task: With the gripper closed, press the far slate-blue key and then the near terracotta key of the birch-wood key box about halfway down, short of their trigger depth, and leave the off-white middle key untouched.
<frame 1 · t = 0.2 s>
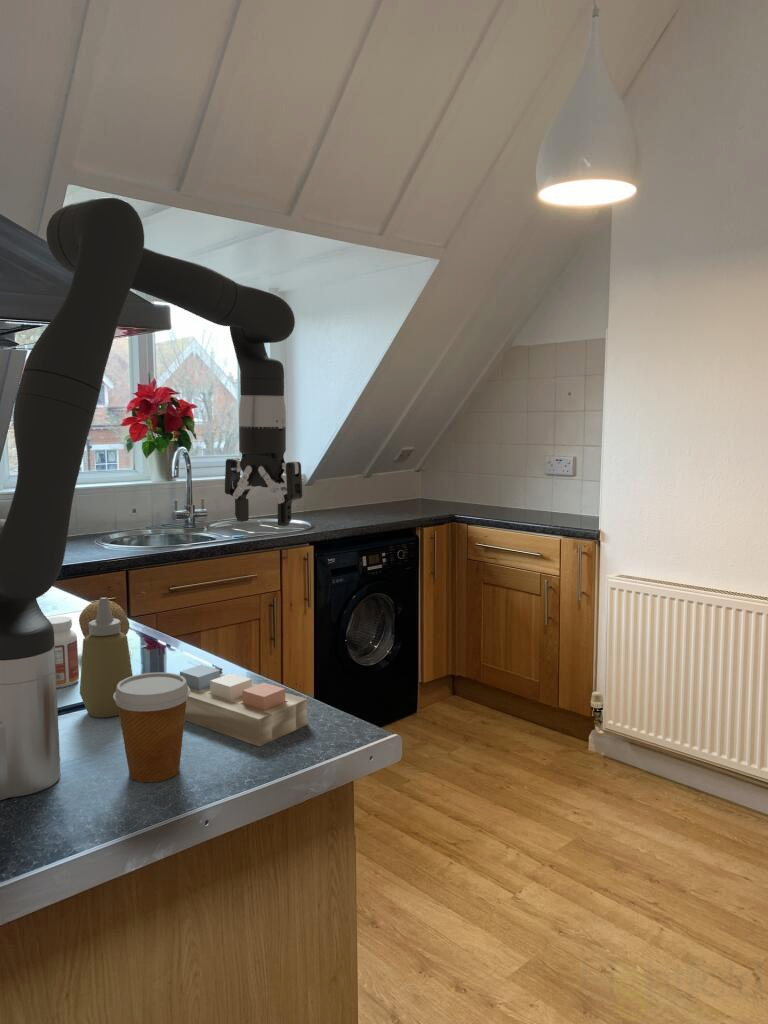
hand: (262, 523, 136), 28 cm above the countertop, fingers open, 8 cm apart
terracotta key: (264, 700, 122), point 4 cm above the countertop, slide at 0.0 cm
key box: (231, 717, 126), on the countertop
white key: (231, 690, 126), point 4 cm above the countertop, slide at 0.0 cm
pill bottle: (59, 684, 142), on the countertop
disposable coffee cup: (154, 773, 108), on the countertop
slate key: (200, 681, 130), point 4 cm above the countertop, slide at 0.0 cm
squeeze bottle: (108, 713, 128), on the countertop
natural sponge: (105, 651, 160), on the countertop
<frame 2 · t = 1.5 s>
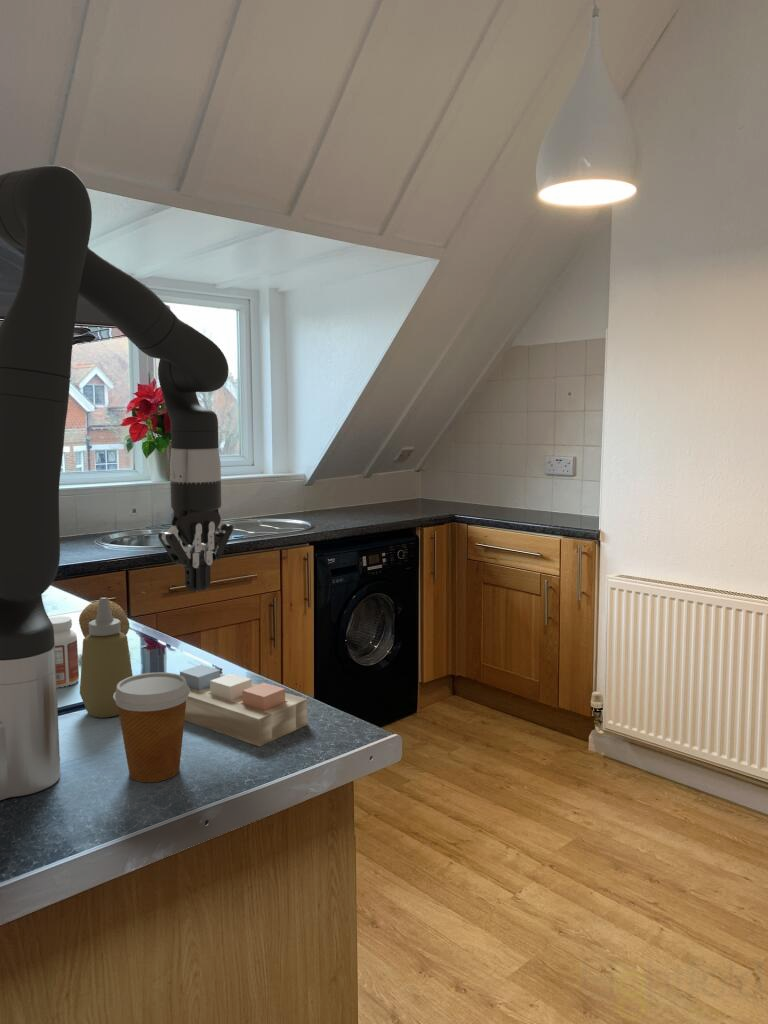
hand: (198, 589, 128), 19 cm above the countertop, fingers closed
nothing on the countertop moved.
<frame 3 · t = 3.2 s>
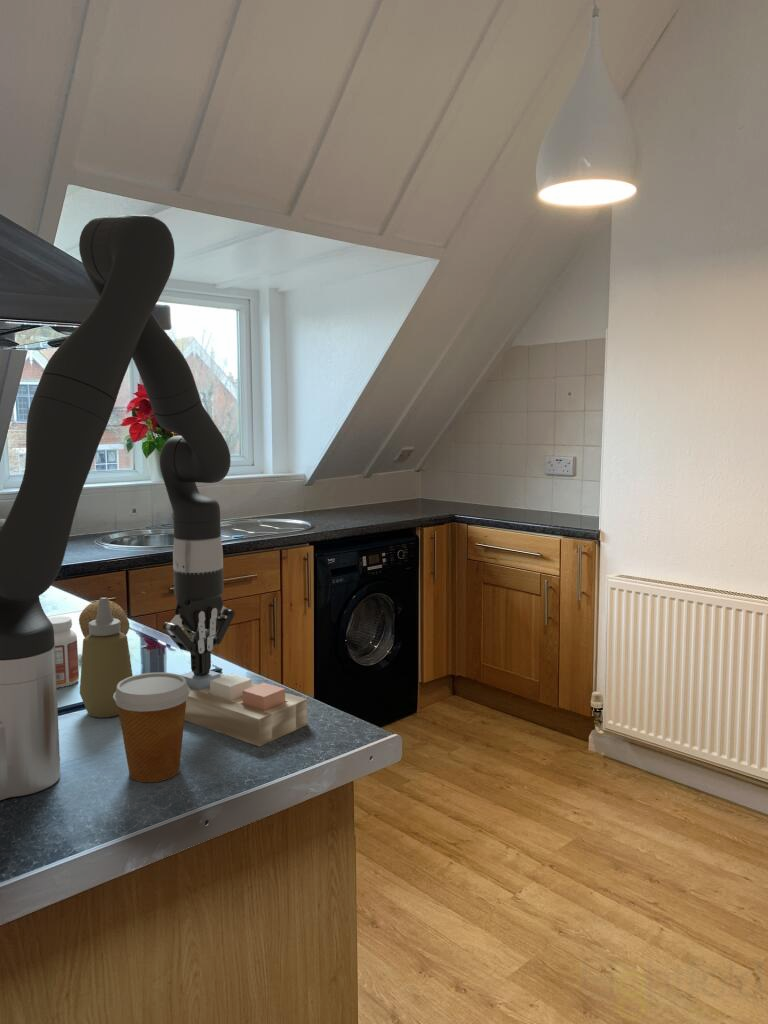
hand: (201, 674, 130), 5 cm above the countertop, fingers closed
slate key: (200, 684, 130), point 4 cm above the countertop, slide at 0.6 cm, touching gripper
everything else where it was.
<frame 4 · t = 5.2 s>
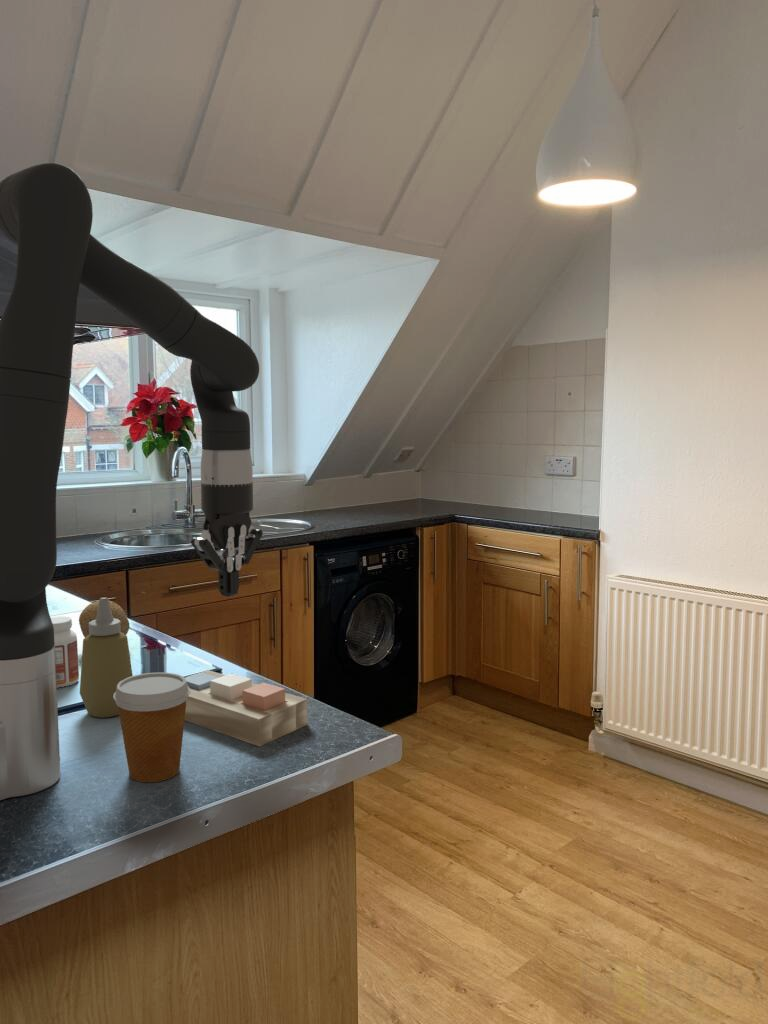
hand: (229, 594, 124), 19 cm above the countertop, fingers closed
slate key: (200, 688, 130), point 3 cm above the countertop, slide at 1.3 cm
everything else where it was.
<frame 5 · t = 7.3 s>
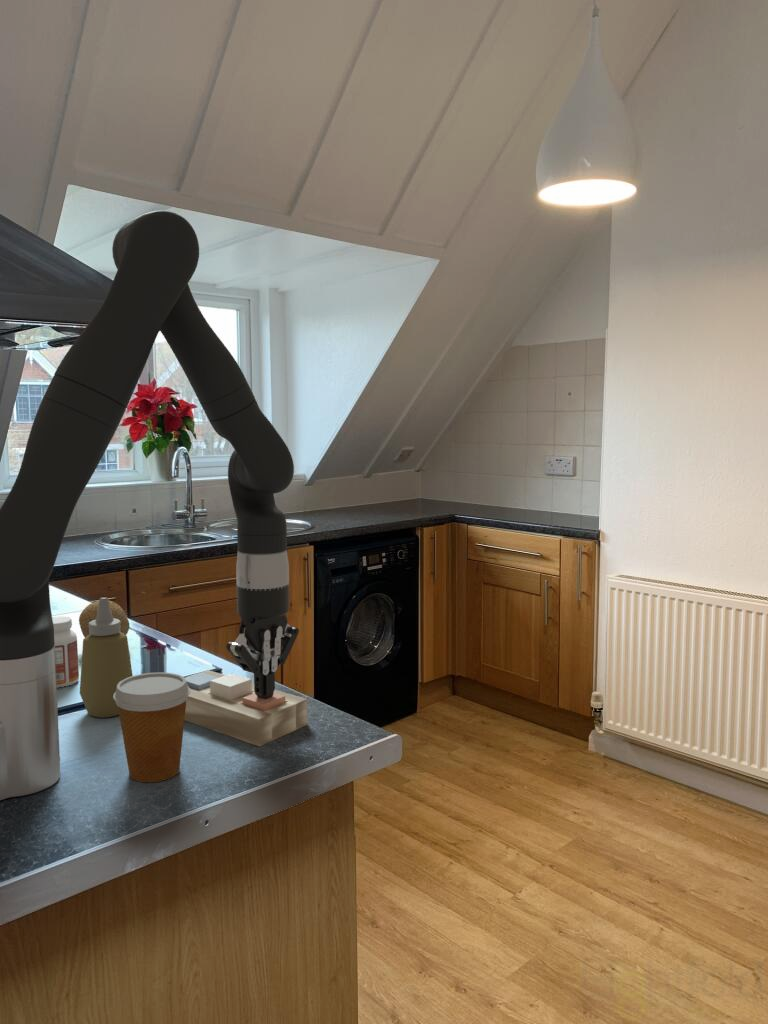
hand: (264, 696, 121), 5 cm above the countertop, fingers closed
terracotta key: (264, 707, 122), point 3 cm above the countertop, slide at 1.1 cm, touching gripper
everything else where it was.
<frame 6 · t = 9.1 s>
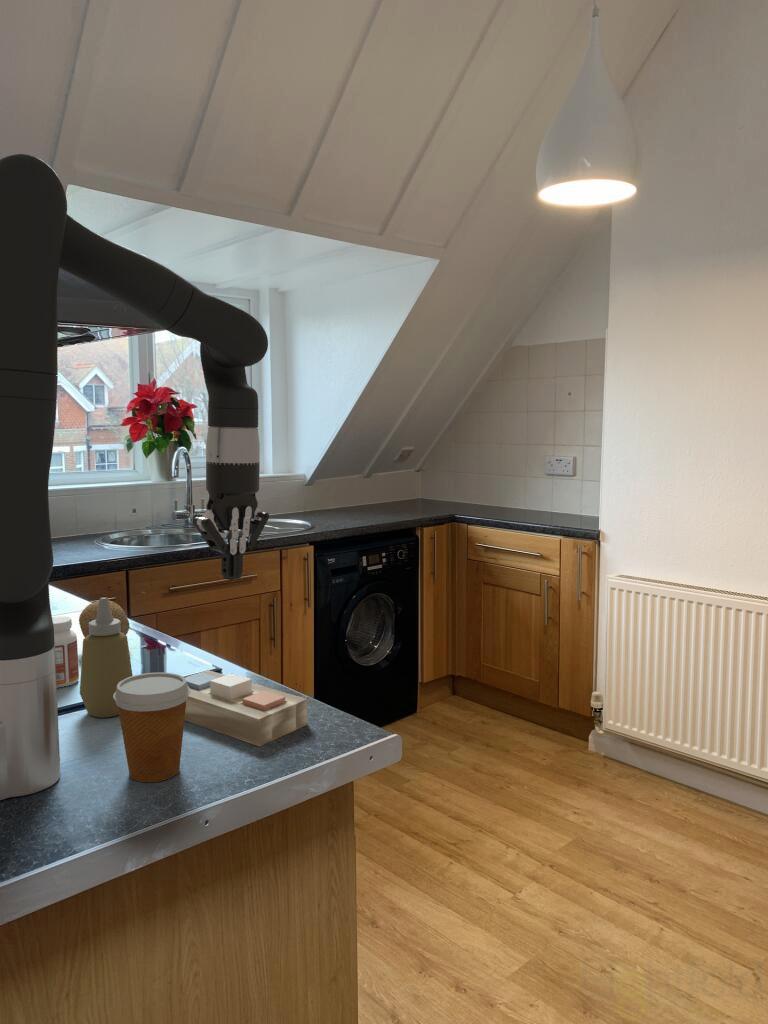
hand: (232, 578, 120), 22 cm above the countertop, fingers closed
terracotta key: (264, 708, 122), point 3 cm above the countertop, slide at 1.2 cm
everything else where it was.
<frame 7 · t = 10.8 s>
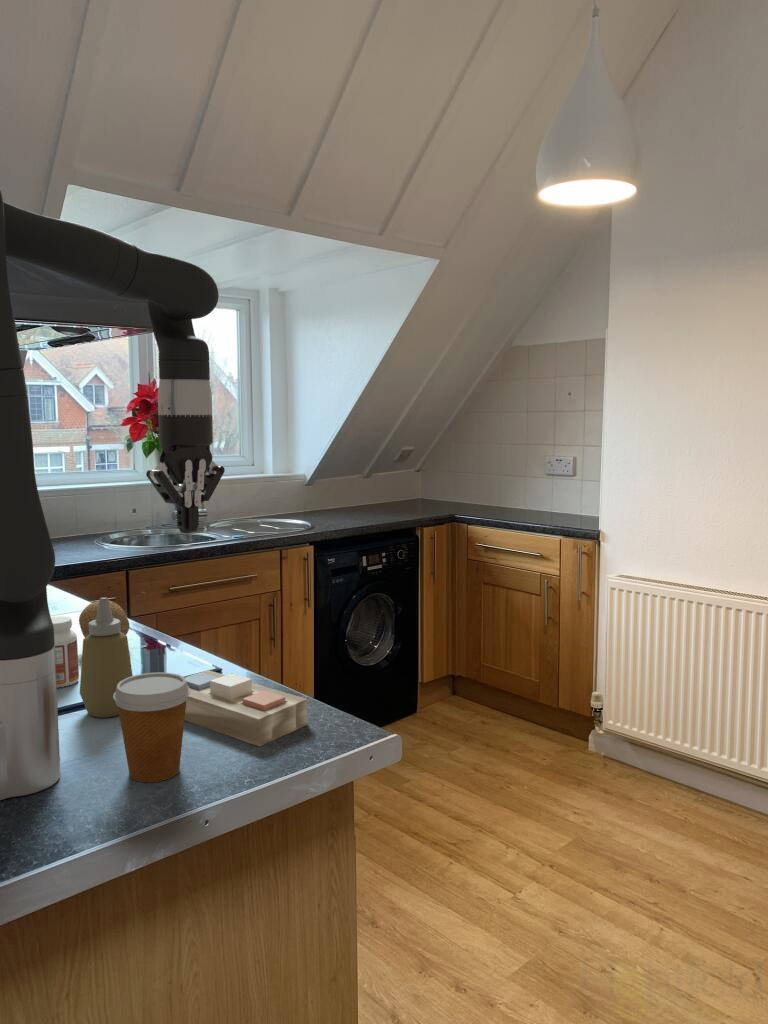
hand: (188, 532, 120), 29 cm above the countertop, fingers closed
nothing on the countertop moved.
at the end: slate key slide at 1.3 cm; terracotta key slide at 1.2 cm; white key slide at 0.0 cm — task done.
